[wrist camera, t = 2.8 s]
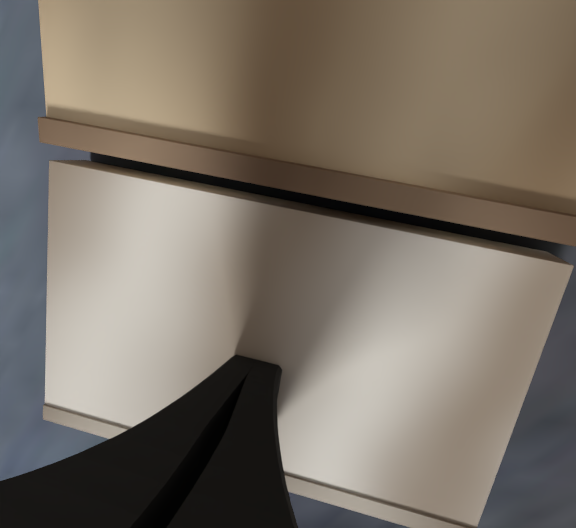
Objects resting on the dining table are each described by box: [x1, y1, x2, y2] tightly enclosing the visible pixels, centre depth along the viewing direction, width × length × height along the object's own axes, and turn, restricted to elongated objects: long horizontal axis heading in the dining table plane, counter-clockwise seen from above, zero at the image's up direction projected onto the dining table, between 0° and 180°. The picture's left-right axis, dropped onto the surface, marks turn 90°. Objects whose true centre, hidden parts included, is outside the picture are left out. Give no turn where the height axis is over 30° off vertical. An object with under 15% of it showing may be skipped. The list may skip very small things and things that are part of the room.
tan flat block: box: [43, 160, 574, 528], centre depth 12 cm, size 13×8×2 cm, turn 81°
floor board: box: [38, 0, 576, 246], centre depth 10 cm, size 13×6×2 cm, turn 81°
